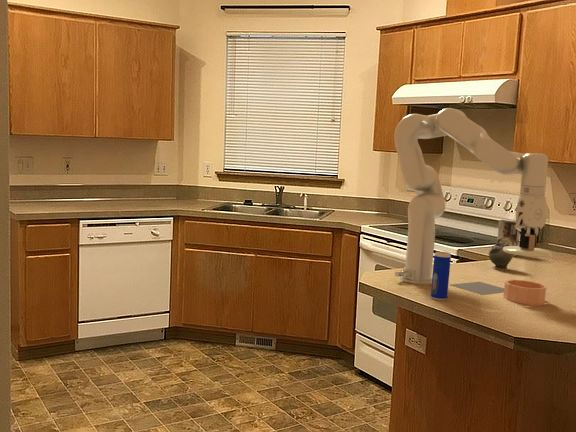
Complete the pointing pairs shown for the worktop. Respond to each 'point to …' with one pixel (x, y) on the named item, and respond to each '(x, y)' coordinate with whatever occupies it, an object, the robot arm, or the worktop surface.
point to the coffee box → (508, 232)
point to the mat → (480, 288)
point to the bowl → (525, 292)
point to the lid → (530, 251)
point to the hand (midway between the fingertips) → (527, 247)
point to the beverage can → (440, 275)
